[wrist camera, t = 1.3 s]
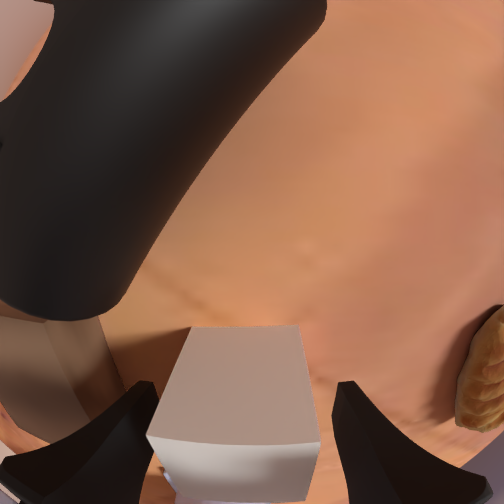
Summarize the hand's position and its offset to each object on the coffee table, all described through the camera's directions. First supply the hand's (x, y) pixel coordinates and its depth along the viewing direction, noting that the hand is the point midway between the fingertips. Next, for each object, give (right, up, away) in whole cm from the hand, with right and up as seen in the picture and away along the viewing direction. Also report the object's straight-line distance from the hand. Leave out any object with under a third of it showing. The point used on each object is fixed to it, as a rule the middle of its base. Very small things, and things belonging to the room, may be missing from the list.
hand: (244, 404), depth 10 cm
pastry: (+16, -2, +3) cm, 16 cm away
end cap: (-3, +11, 0) cm, 12 cm away
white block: (0, +1, +2) cm, 3 cm away
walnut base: (-12, -1, +4) cm, 12 cm away
